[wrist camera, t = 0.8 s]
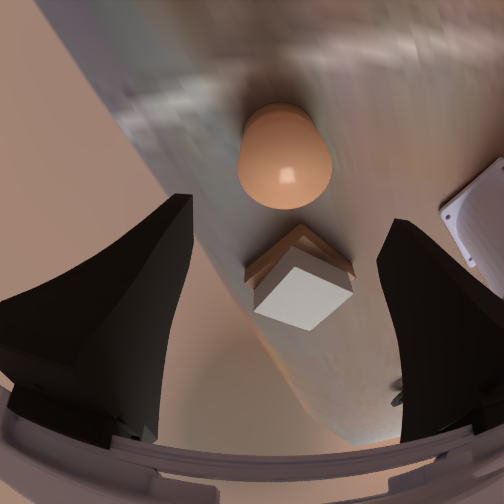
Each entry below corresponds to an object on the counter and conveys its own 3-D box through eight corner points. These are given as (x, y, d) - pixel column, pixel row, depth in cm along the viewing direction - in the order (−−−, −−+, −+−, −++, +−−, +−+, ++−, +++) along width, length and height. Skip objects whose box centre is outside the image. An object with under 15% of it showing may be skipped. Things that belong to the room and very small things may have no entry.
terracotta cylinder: (330, 136, 18) (350, 168, 14) (281, 181, 20) (286, 224, 16) (277, 87, 16) (283, 104, 12) (228, 140, 18) (218, 173, 14)
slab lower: (350, 260, 25) (356, 278, 23) (297, 297, 28) (299, 316, 27) (300, 218, 22) (303, 235, 21) (245, 264, 26) (244, 283, 24)
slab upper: (347, 272, 23) (353, 293, 21) (307, 311, 26) (309, 331, 24) (291, 245, 21) (294, 266, 20) (253, 290, 25) (253, 311, 23)
